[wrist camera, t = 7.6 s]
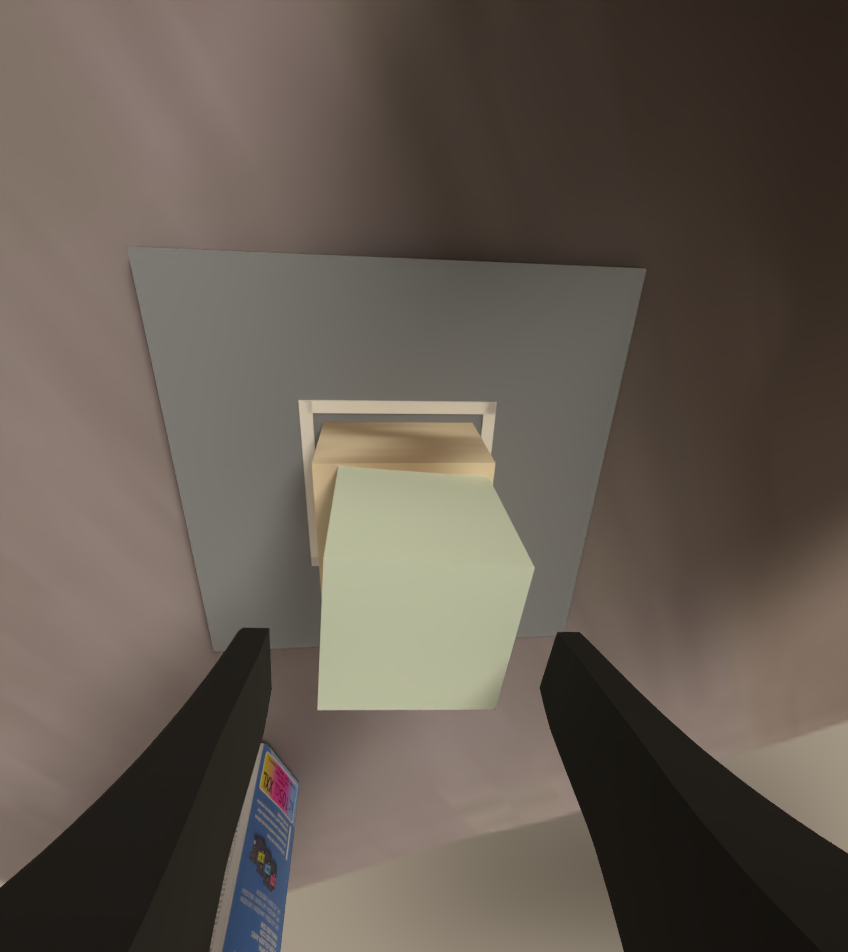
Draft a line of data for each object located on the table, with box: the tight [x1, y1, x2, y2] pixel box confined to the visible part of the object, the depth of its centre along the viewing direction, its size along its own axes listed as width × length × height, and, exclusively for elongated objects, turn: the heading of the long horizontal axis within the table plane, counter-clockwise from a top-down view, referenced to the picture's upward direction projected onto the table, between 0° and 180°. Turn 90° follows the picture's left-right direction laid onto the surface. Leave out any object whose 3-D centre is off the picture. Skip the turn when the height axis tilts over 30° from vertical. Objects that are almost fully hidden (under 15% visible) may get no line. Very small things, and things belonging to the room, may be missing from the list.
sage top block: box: [317, 466, 535, 710], centre depth 14 cm, size 5×5×5 cm
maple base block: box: [312, 422, 495, 598], centre depth 18 cm, size 6×6×4 cm
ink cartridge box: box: [209, 743, 299, 952], centre depth 22 cm, size 10×6×14 cm, turn 110°
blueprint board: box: [127, 247, 647, 652], centre depth 20 cm, size 18×18×1 cm
